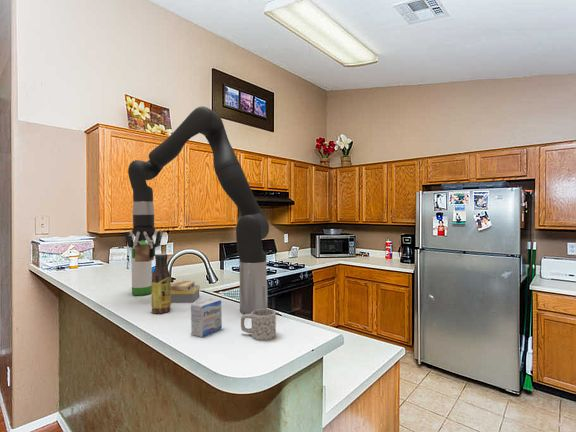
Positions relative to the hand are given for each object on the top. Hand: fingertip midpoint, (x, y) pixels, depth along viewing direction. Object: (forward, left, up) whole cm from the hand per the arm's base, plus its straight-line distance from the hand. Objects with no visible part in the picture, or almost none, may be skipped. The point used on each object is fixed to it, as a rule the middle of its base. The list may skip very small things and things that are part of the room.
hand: (144, 258), depth 130 cm
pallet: (-12, -4, -12) cm, 18 cm away
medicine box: (-32, +32, -17) cm, 48 cm away
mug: (-47, +35, -17) cm, 61 cm away
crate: (0, 0, -1) cm, 1 cm away
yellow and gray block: (-12, -4, -17) cm, 21 cm away
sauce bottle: (-11, +12, -17) cm, 24 cm away
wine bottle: (+7, -13, -17) cm, 23 cm away
